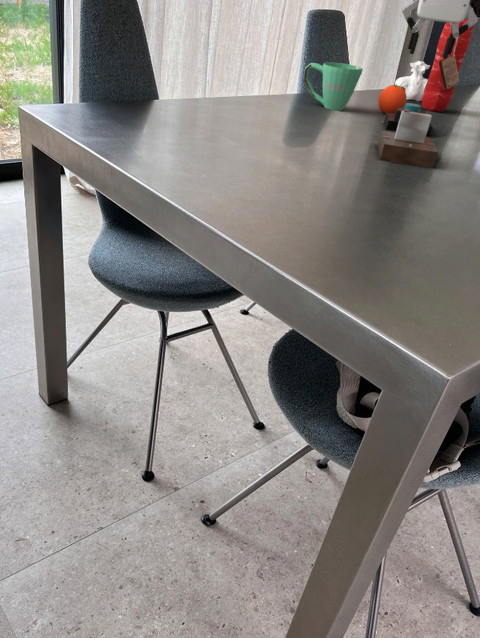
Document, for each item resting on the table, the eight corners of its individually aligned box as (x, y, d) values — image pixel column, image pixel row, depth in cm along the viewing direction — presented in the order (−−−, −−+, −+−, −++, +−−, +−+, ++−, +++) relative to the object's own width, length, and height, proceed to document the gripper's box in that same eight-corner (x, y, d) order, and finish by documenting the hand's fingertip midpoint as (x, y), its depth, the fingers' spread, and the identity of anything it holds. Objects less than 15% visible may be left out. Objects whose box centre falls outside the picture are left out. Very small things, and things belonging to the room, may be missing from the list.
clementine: (390, 110, 153) (397, 81, 149) (409, 116, 149) (418, 87, 145) (369, 111, 150) (377, 81, 145) (389, 117, 145) (397, 87, 141)
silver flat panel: (422, 141, 112) (431, 113, 109) (423, 143, 110) (432, 114, 107) (394, 137, 112) (402, 109, 109) (394, 139, 111) (403, 110, 108)
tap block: (426, 153, 117) (431, 137, 115) (432, 168, 108) (438, 151, 106) (377, 145, 119) (382, 129, 117) (379, 160, 109) (384, 143, 107)
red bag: (449, 117, 154) (485, 9, 140) (419, 112, 156) (451, 4, 141) (446, 109, 164) (480, 7, 149) (418, 105, 165) (448, 3, 151)
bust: (428, 109, 174) (434, 74, 174) (436, 96, 166) (443, 59, 167) (388, 104, 175) (395, 68, 175) (395, 90, 168) (402, 54, 168)
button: (417, 112, 134) (420, 104, 133) (419, 115, 131) (421, 107, 130) (402, 110, 135) (404, 102, 134) (403, 113, 132) (406, 105, 131)
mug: (357, 110, 149) (367, 67, 143) (346, 115, 142) (356, 70, 136) (305, 99, 154) (313, 58, 148) (292, 104, 147) (300, 60, 141)
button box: (425, 128, 139) (430, 110, 136) (429, 137, 131) (435, 118, 128) (384, 121, 140) (388, 104, 138) (385, 130, 132) (391, 112, 130)
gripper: (496, -38, 118) (464, 59, 128) (412, -48, 120) (387, 48, 130) (504, -39, 112) (470, 63, 122) (415, -49, 114) (389, 52, 124)
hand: (427, 55), depth 126 cm, fingers open, 6 cm apart
